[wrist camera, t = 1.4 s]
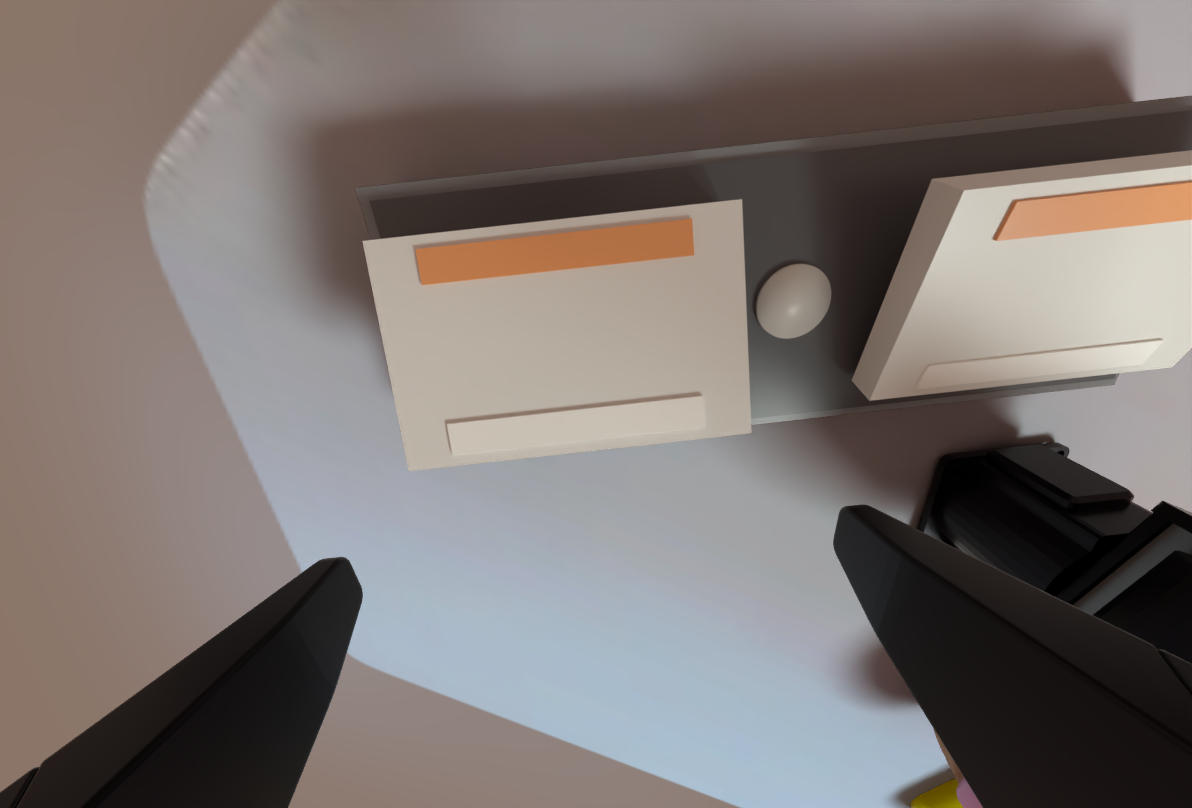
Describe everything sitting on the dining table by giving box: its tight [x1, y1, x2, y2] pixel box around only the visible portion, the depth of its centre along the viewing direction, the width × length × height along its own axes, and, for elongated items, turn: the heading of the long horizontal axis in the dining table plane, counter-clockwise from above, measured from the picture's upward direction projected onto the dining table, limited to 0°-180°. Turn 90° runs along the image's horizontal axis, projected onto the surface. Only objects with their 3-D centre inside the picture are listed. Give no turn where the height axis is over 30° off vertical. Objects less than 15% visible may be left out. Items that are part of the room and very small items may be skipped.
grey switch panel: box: [355, 96, 1192, 425], centre depth 16 cm, size 10×28×3 cm, turn 96°
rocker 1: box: [363, 199, 752, 471], centre depth 13 cm, size 7×11×1 cm, turn 95°
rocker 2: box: [852, 150, 1192, 401], centre depth 13 cm, size 7×11×1 cm, turn 96°
